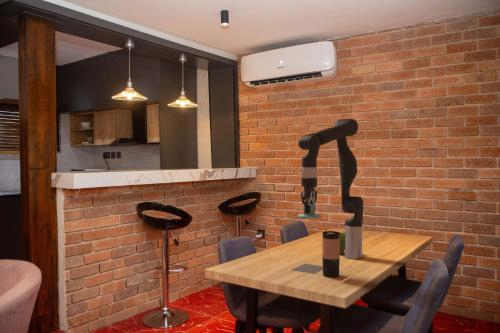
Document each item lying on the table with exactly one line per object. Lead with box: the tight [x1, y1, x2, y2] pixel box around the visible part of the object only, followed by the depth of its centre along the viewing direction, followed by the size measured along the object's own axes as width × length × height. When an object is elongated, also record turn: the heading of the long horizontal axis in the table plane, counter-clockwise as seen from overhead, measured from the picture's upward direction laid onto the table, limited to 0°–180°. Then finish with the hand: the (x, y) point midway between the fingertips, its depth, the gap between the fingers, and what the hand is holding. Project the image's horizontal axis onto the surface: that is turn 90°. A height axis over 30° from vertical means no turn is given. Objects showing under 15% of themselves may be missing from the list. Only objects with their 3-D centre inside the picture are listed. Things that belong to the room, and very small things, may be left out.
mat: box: [291, 263, 323, 275], centre depth 196 cm, size 15×12×1 cm
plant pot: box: [338, 231, 345, 255], centre depth 232 cm, size 12×12×11 cm
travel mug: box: [321, 230, 341, 279], centre depth 184 cm, size 8×8×20 cm
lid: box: [297, 203, 322, 220], centre depth 196 cm, size 11×11×6 cm
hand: (309, 212), depth 196 cm, fingers closed on lid, 4 cm apart
